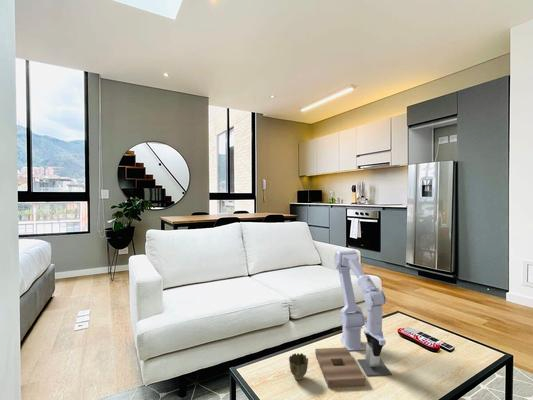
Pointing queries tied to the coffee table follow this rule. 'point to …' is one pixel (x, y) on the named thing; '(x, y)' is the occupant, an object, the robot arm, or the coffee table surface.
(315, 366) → the coffee table surface
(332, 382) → the brown wooden socket board
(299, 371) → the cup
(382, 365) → the mat
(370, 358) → the plug
